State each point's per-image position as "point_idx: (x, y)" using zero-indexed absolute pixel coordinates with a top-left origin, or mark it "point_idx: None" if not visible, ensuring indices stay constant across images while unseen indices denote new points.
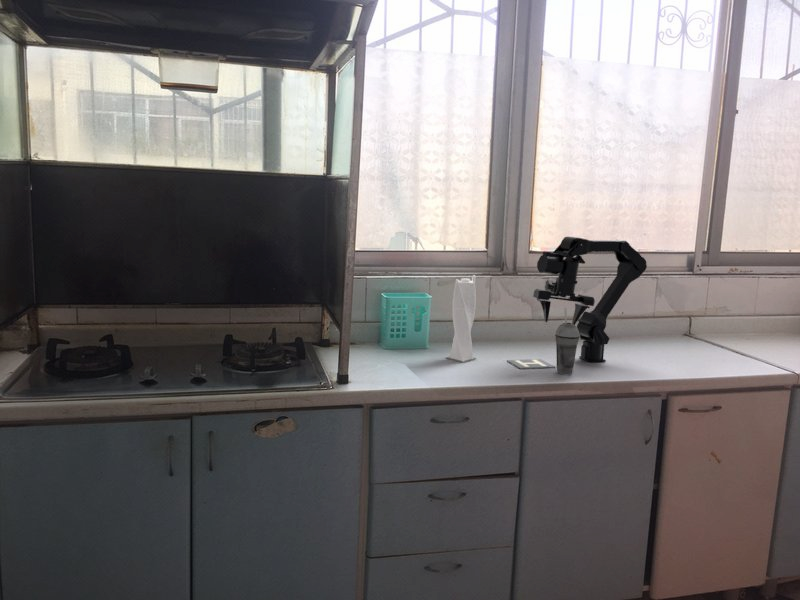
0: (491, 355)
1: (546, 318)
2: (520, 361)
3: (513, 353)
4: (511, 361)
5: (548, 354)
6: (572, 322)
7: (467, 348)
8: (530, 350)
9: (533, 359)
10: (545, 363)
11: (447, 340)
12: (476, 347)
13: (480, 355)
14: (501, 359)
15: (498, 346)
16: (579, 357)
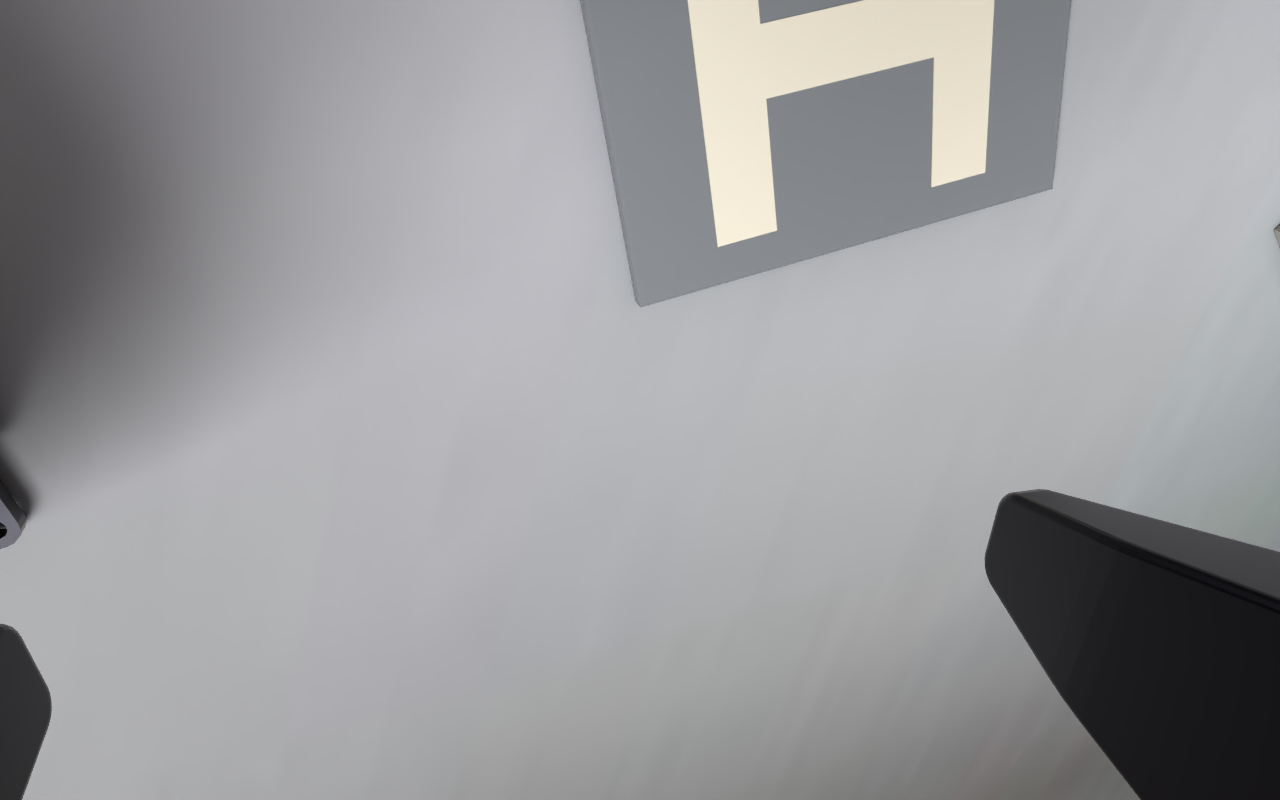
0: (1065, 415)
1: (1153, 527)
2: (937, 130)
3: (829, 541)
4: (1037, 119)
5: (454, 597)
6: (12, 786)
7: None
8: (614, 699)
9: (740, 262)
10: (650, 43)
11: None
12: None
13: (1156, 394)
14: (1053, 266)
15: (860, 739)
16: (21, 512)
